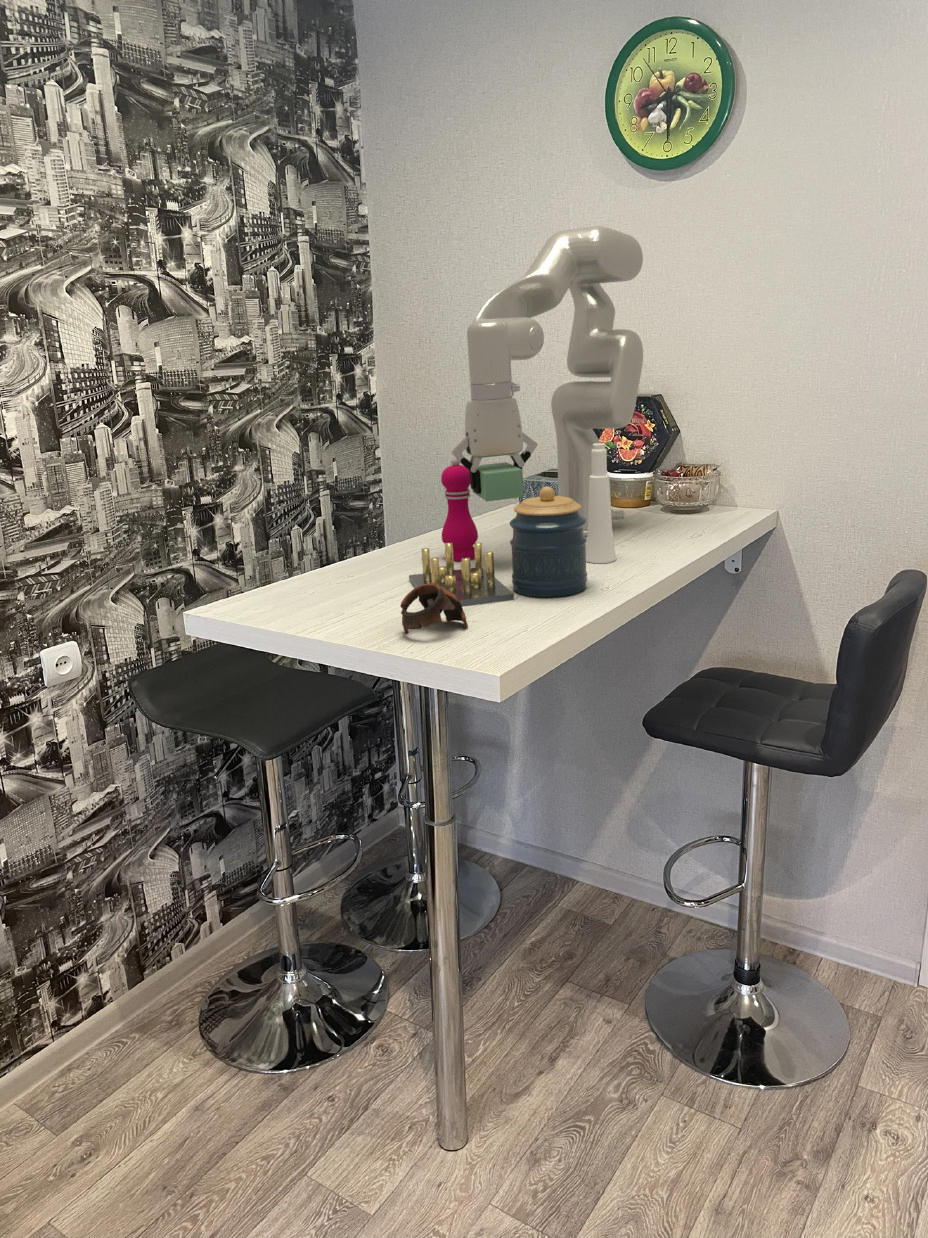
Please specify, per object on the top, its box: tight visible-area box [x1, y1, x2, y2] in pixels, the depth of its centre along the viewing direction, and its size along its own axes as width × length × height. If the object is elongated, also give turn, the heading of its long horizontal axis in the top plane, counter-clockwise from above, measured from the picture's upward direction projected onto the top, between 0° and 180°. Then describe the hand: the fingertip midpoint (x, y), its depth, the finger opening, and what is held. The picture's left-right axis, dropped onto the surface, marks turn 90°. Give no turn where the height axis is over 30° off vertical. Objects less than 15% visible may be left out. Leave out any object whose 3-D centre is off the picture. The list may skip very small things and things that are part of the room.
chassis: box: [408, 541, 515, 607], centre depth 163 cm, size 14×20×7 cm
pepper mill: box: [440, 456, 479, 562], centre depth 183 cm, size 7×7×20 cm
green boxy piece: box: [472, 461, 524, 502], centre depth 174 cm, size 7×10×5 cm
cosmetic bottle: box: [586, 442, 617, 564], centre depth 175 cm, size 6×6×22 cm
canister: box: [509, 486, 588, 598], centre depth 159 cm, size 13×13×18 cm
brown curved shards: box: [400, 583, 469, 634], centre depth 143 cm, size 12×10×8 cm
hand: (497, 489), depth 174 cm, fingers closed on green boxy piece, 7 cm apart
